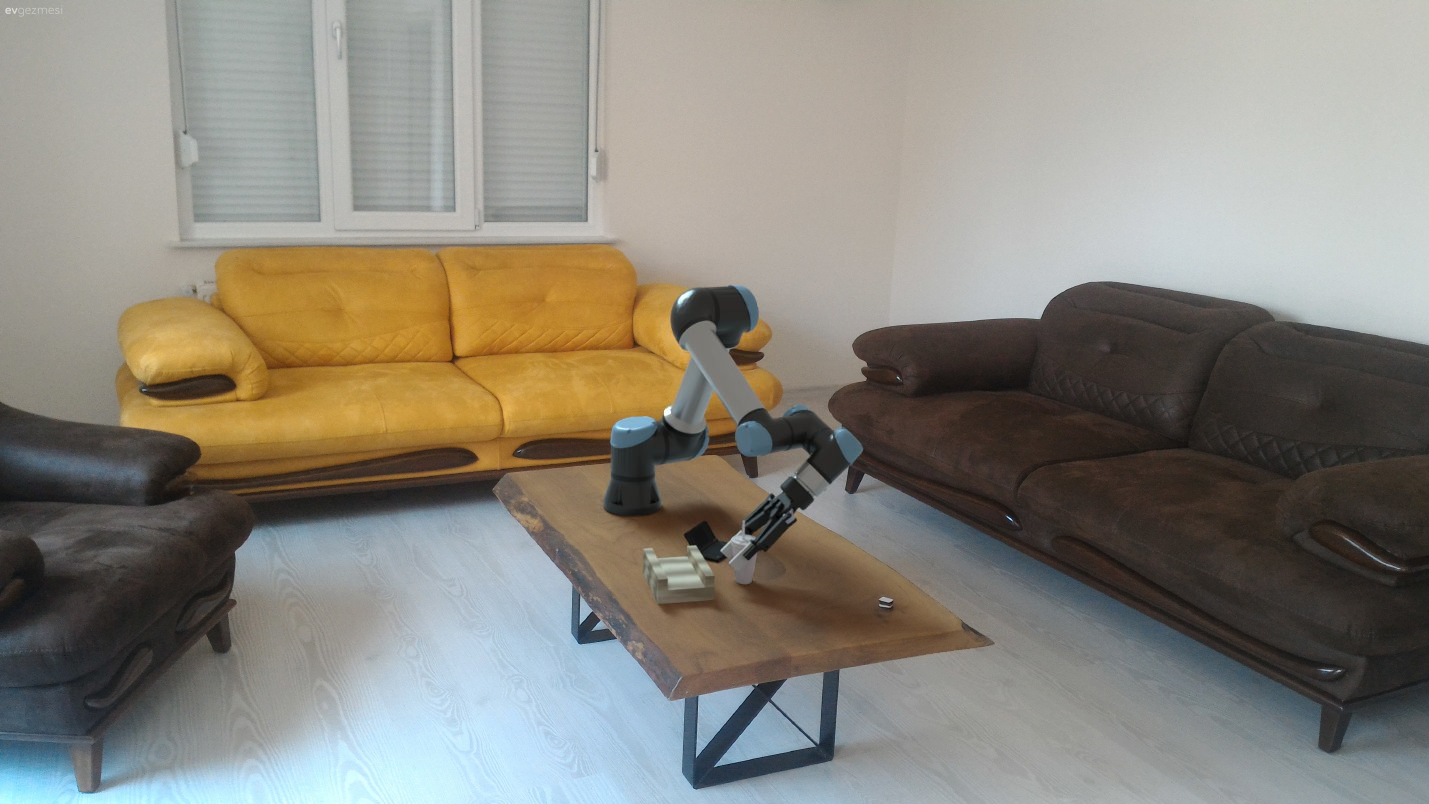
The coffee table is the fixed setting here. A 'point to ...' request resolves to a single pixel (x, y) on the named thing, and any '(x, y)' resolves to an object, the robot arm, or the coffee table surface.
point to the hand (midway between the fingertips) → (728, 560)
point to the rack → (679, 577)
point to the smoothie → (748, 569)
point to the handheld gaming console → (705, 542)
